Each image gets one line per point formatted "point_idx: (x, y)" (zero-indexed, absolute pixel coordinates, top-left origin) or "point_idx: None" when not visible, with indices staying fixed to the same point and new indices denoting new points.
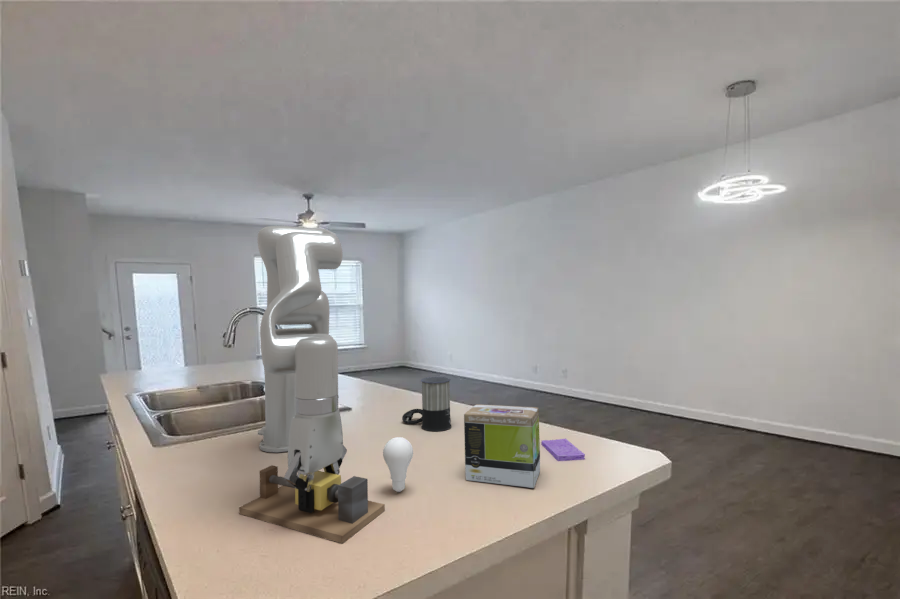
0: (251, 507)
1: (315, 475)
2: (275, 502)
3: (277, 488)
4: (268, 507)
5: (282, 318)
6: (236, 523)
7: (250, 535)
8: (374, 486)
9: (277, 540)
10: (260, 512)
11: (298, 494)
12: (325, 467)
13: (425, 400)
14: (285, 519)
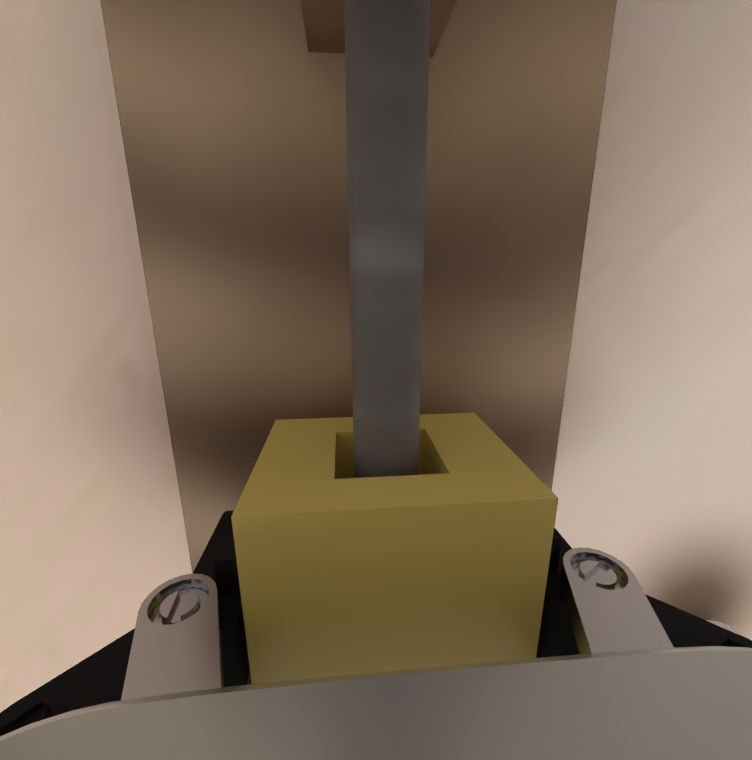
0: (150, 64)
1: (438, 588)
2: (301, 185)
3: (435, 34)
4: (221, 202)
5: None
6: (35, 101)
7: (17, 322)
8: (721, 507)
9: (82, 484)
10: (144, 208)
11: (230, 523)
12: (581, 638)
13: None
14: (176, 434)
